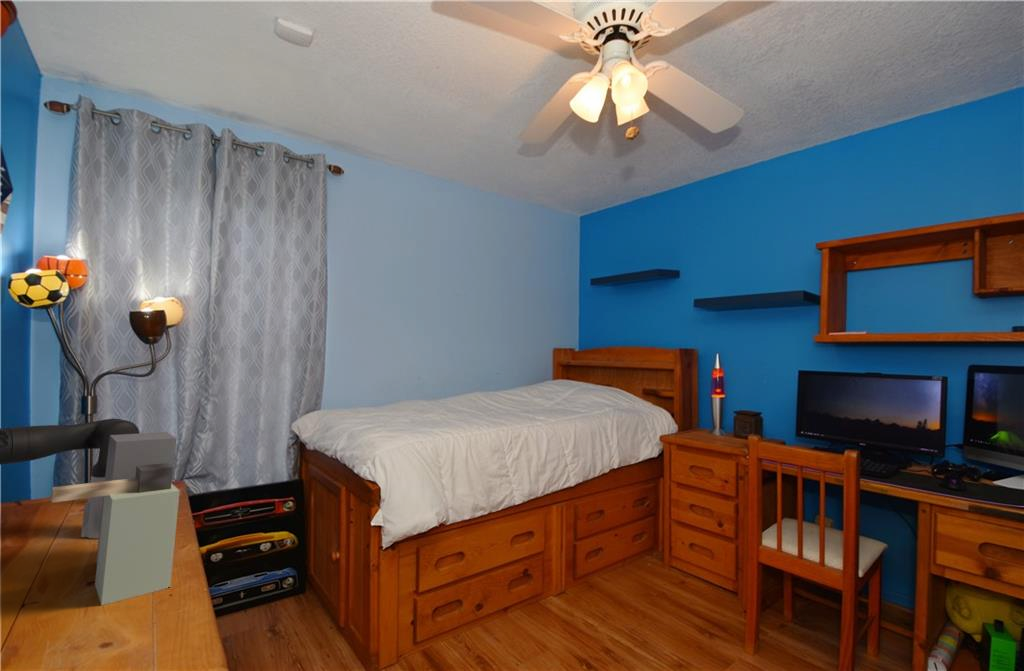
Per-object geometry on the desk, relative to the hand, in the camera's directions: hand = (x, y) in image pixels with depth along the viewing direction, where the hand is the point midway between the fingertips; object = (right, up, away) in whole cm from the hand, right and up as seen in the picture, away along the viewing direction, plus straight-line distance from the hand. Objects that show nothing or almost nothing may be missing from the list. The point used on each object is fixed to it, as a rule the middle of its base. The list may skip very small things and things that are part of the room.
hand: (6, 436), depth 96 cm
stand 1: (+8, -37, +21) cm, 43 cm away
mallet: (+16, -14, +8) cm, 23 cm away
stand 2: (+18, -37, +10) cm, 42 cm away
